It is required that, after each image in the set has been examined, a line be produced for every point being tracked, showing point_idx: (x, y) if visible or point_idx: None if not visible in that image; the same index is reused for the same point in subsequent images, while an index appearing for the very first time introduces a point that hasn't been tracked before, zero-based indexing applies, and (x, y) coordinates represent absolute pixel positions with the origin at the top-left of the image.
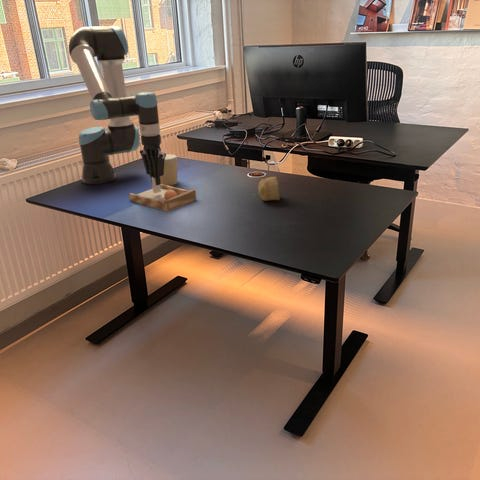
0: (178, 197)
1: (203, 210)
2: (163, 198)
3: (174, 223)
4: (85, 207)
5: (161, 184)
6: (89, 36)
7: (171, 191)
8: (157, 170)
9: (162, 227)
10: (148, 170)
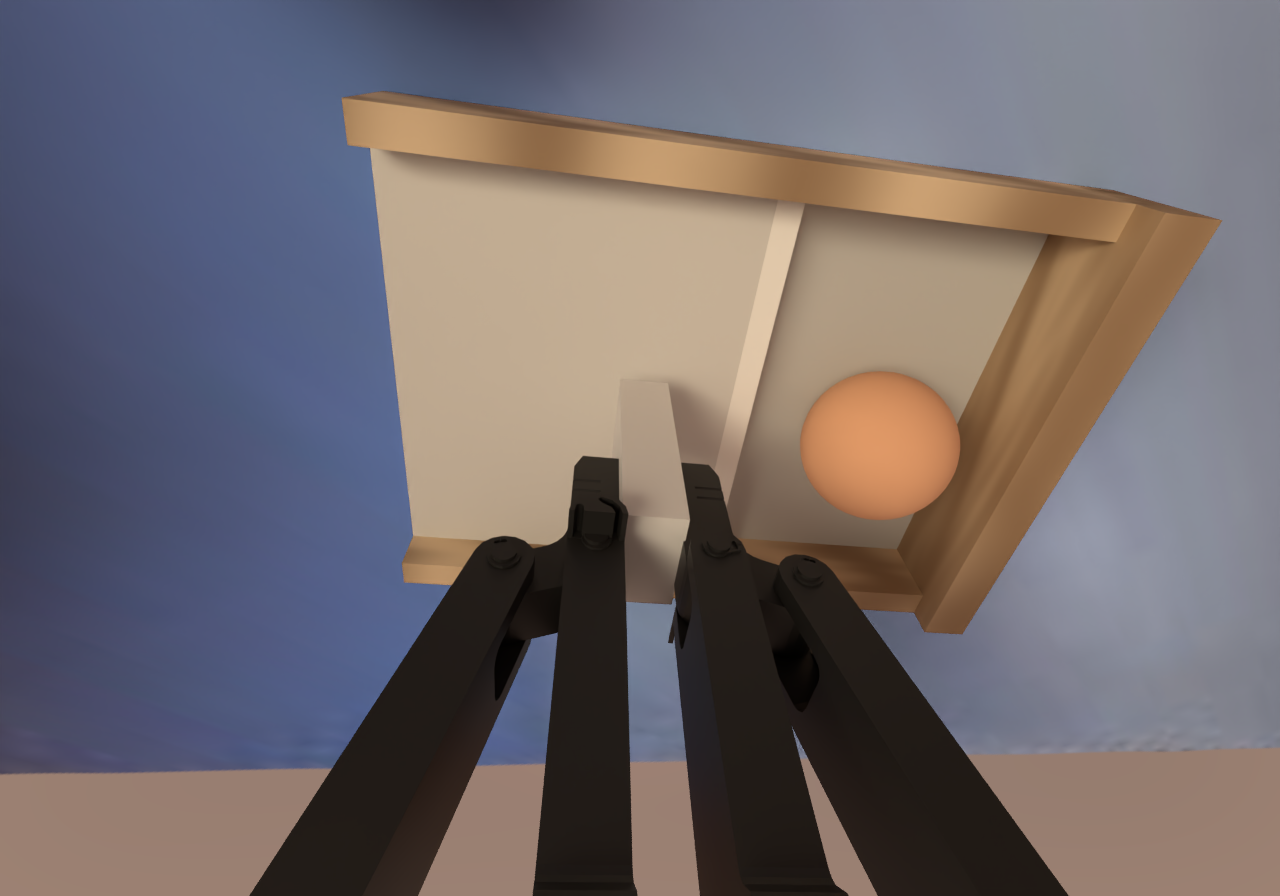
0: (1034, 508)
1: (1255, 423)
2: (745, 413)
3: (1056, 665)
4: (270, 725)
5: (460, 139)
6: None
7: (932, 496)
8: (801, 735)
9: (997, 718)
10: (513, 666)
